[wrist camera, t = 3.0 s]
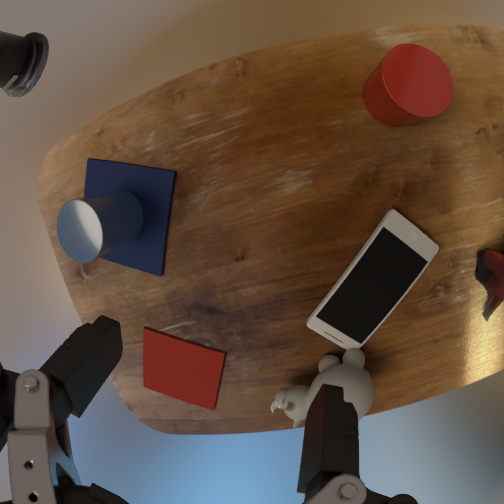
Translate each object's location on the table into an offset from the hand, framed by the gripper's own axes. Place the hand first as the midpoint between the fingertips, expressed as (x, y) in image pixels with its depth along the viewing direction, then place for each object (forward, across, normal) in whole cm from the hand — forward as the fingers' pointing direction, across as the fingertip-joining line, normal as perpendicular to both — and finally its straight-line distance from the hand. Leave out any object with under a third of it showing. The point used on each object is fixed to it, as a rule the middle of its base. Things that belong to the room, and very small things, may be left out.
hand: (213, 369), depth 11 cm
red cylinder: (+24, -8, -14) cm, 29 cm away
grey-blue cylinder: (+21, +17, +5) cm, 27 cm away
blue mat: (+21, +17, +5) cm, 28 cm away
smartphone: (+21, -12, +6) cm, 25 cm away
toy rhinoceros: (+20, -10, +18) cm, 28 cm away
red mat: (+18, +7, +24) cm, 31 cm away
